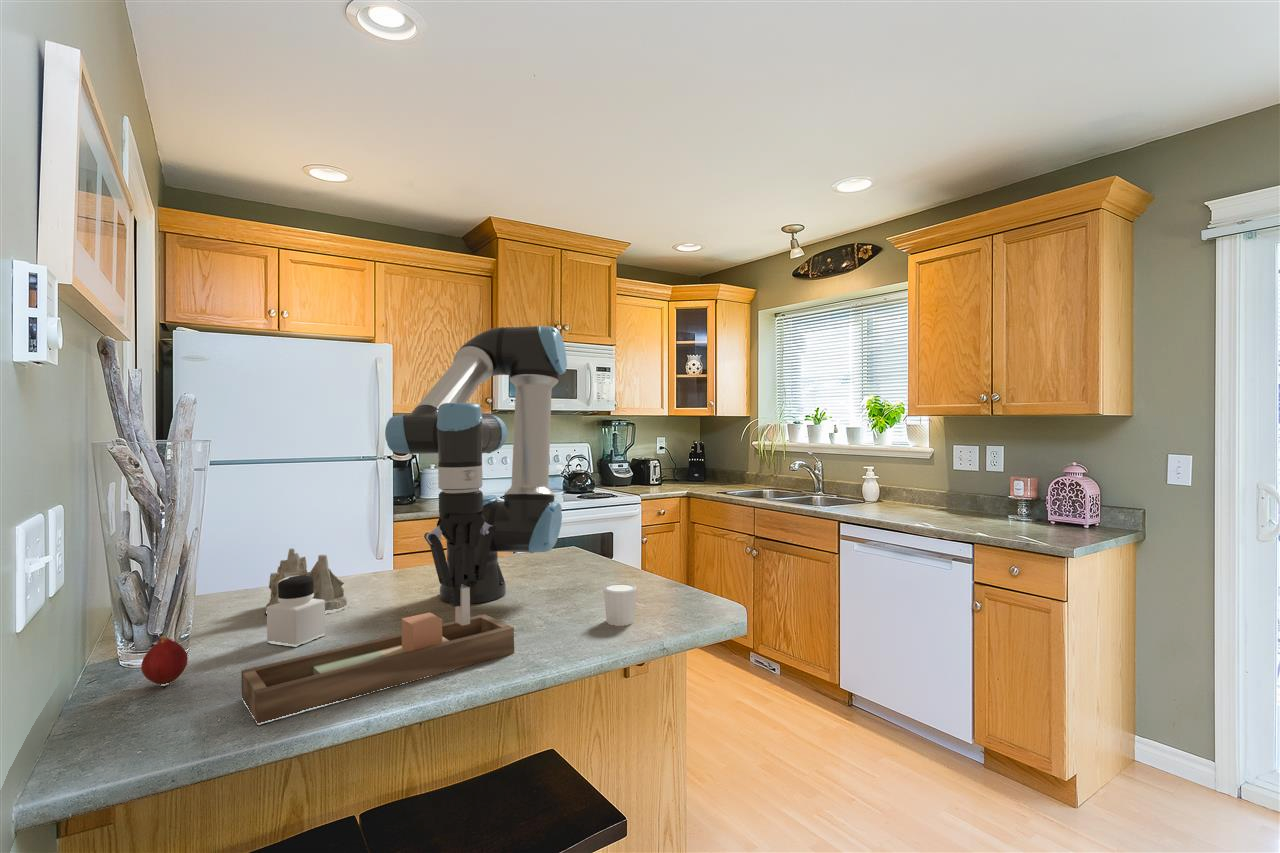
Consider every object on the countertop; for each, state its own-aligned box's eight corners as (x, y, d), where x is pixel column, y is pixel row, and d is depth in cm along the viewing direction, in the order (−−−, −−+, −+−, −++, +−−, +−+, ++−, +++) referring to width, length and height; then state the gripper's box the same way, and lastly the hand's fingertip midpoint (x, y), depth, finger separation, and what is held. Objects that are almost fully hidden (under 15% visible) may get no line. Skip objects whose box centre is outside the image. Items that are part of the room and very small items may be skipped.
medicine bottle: (326, 635, 125) (325, 574, 125) (295, 648, 118) (294, 583, 118) (298, 632, 127) (296, 571, 127) (266, 644, 120) (265, 580, 120)
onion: (158, 679, 105) (157, 630, 104) (195, 677, 105) (194, 629, 105) (133, 694, 99) (132, 642, 99) (173, 692, 99) (171, 641, 99)
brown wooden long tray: (241, 700, 96) (241, 670, 96) (484, 637, 123) (484, 613, 123) (257, 726, 88) (256, 693, 88) (514, 652, 114) (513, 627, 114)
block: (401, 647, 109) (401, 618, 109) (430, 640, 113) (429, 612, 112) (413, 655, 105) (412, 625, 105) (442, 648, 109) (442, 618, 109)
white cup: (633, 627, 127) (632, 592, 127) (599, 626, 129) (599, 591, 129) (640, 617, 134) (639, 583, 134) (608, 615, 135) (607, 582, 135)
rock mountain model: (349, 611, 140) (345, 542, 140) (262, 626, 133) (258, 553, 133) (345, 598, 154) (341, 535, 154) (267, 611, 146) (262, 545, 147)
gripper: (434, 495, 106) (436, 636, 107) (504, 488, 115) (506, 619, 115) (416, 491, 112) (418, 626, 112) (484, 485, 121) (485, 610, 121)
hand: (462, 622), depth 114 cm, fingers closed
